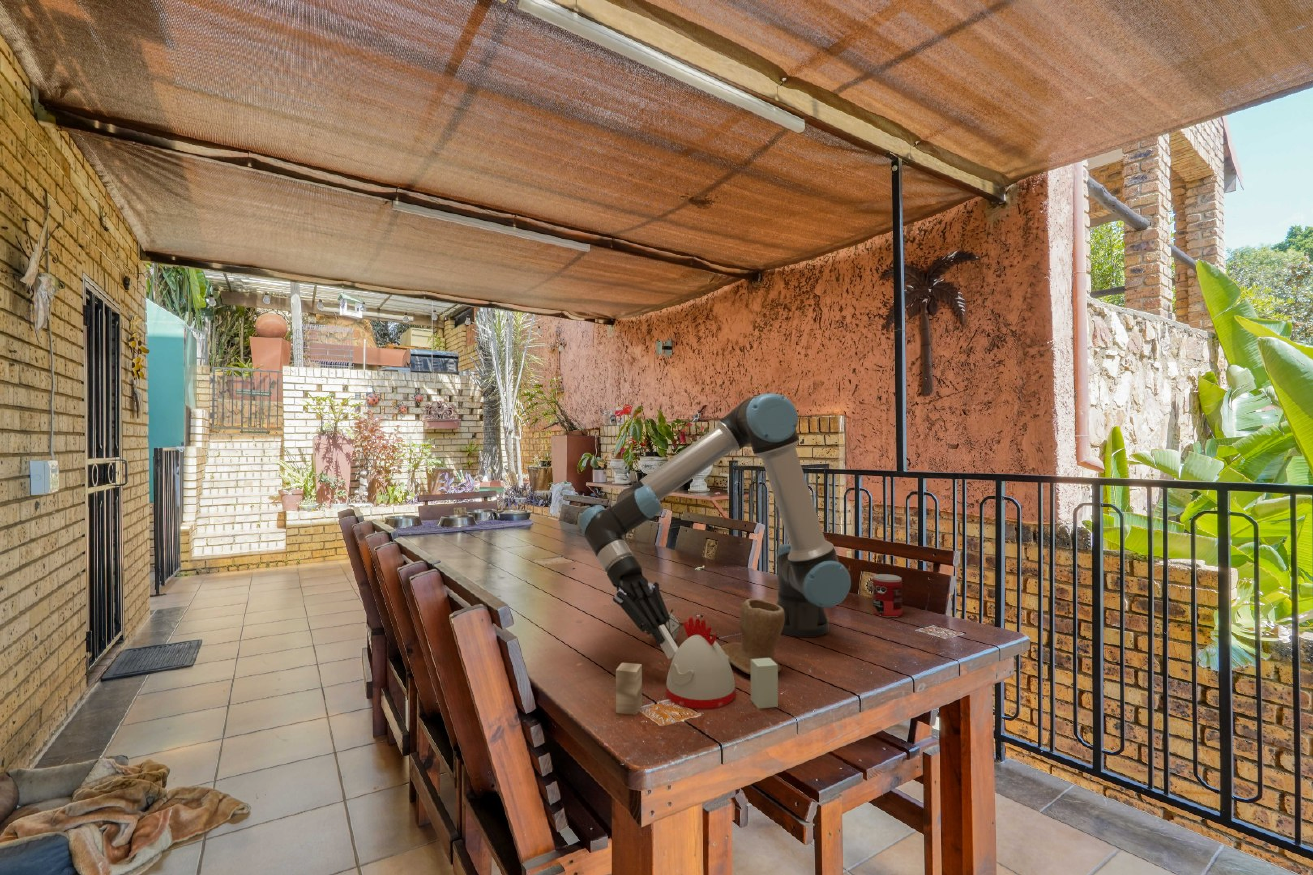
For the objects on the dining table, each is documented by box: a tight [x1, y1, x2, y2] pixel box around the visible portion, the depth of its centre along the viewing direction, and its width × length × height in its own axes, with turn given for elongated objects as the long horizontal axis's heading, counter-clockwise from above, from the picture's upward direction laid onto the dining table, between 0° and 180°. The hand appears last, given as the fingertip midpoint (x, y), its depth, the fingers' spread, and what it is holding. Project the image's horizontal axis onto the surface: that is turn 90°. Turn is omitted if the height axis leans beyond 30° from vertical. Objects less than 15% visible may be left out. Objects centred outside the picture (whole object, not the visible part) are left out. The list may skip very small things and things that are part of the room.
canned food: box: [872, 573, 903, 617], centre depth 176 cm, size 8×8×11 cm
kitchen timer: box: [665, 616, 736, 710], centre depth 121 cm, size 14×14×15 cm
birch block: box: [615, 662, 643, 716], centre depth 114 cm, size 4×4×8 cm
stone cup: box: [720, 598, 785, 676], centre depth 135 cm, size 15×12×15 cm
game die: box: [656, 608, 684, 646], centre depth 152 cm, size 9×8×10 cm
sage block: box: [750, 658, 779, 710], centre depth 116 cm, size 4×4×8 cm
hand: (674, 654), depth 126 cm, fingers closed
